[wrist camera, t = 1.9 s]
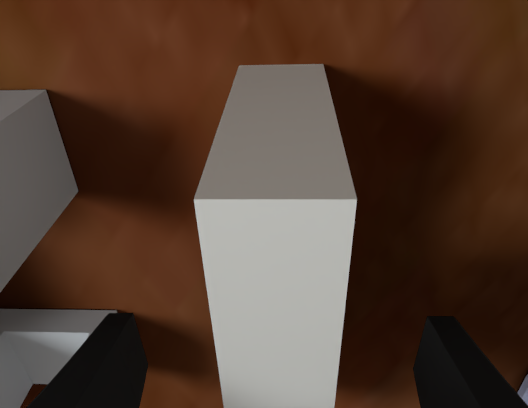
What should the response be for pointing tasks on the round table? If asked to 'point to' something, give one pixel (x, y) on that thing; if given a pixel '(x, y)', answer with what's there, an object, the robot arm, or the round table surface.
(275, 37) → the round table surface
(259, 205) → the door panel
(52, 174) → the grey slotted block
